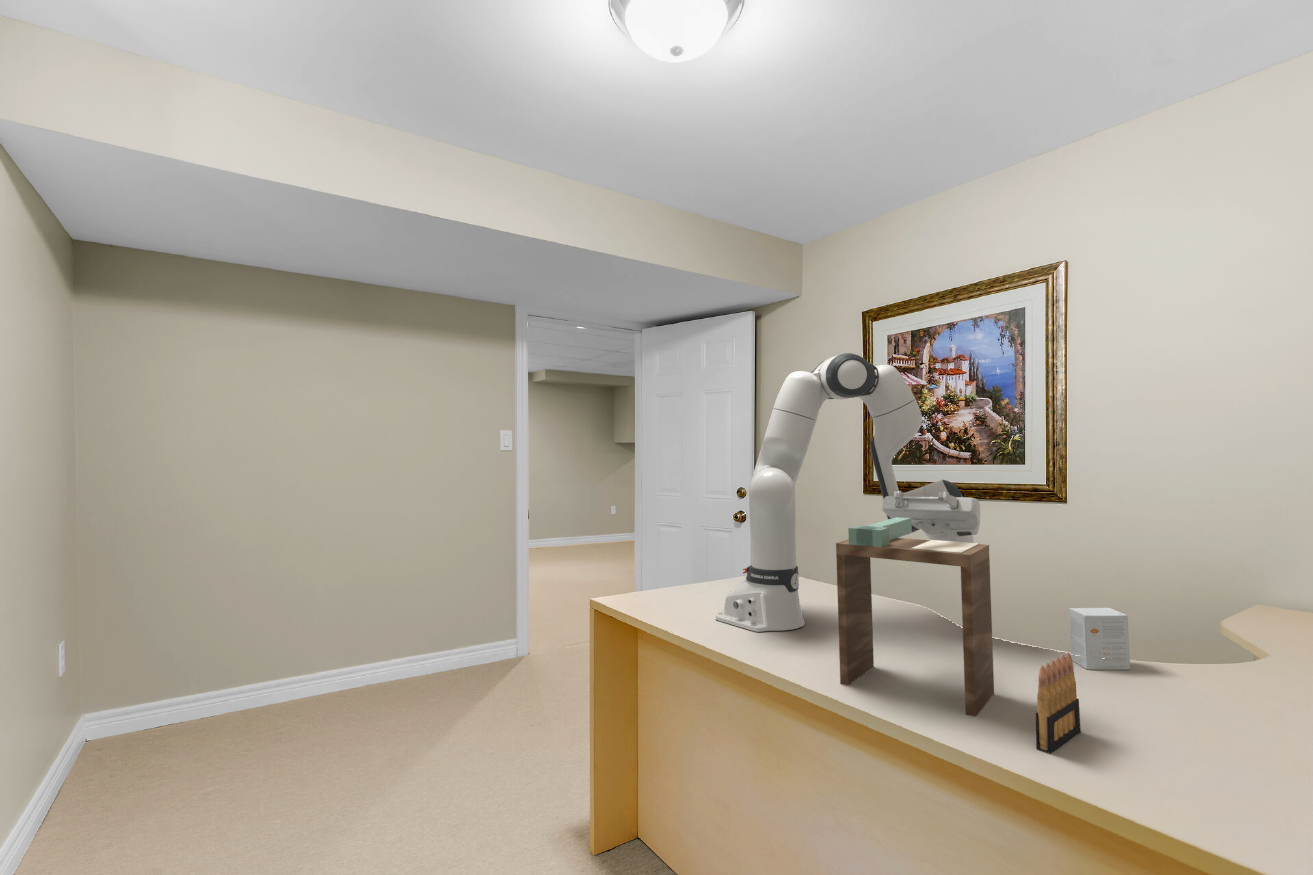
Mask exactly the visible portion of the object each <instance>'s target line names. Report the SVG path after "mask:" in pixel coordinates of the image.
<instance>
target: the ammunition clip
mask: <svg viewBox="0 0 1313 875" xmlns="http://www.w3.org/2000/svg"><path fill="white" fill-rule="evenodd" d="M1074 671H1075V670H1074V661H1072V658H1071V652H1067V653H1066V655H1064V654H1062V655H1061V657H1057V658H1056V660H1055V659H1054V660H1053V659H1052V661H1051V662H1050V663H1049V662H1047V663H1046V664H1045V666H1044V665H1041V666H1040V669H1039V671H1038V672H1039V673H1038V686H1037V688H1038V690H1037V697H1036V698H1037V699H1036V700H1037V701H1036V702H1037V711H1036V713H1035V738H1036V739H1035V742H1036V743H1035V744H1036V746H1035V747H1036V750H1038V751H1042V752H1044V753H1048V754H1053V753H1054V752H1055V751H1057V750H1059V749H1060V748H1062V746H1064V745H1065V744H1067V743H1068V742H1070V741H1071V740H1073V739H1074V738H1075V737H1077V736H1078V735H1079V734H1080V733H1082V732H1081V714H1080V699H1079V698H1077V696H1078V695H1077V681H1076V677H1075V672H1074Z"/></svg>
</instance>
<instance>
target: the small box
mask: <svg viewBox="0 0 1313 875" xmlns="http://www.w3.org/2000/svg"><path fill="white" fill-rule="evenodd" d="M1068 618H1069V619H1068V621H1069V641H1070V642H1069V644H1070V646H1069V648H1070V655H1071V654H1073V655H1071V658H1072V661H1073V663H1076V664H1078V665H1079V666H1080V667H1082V668H1084V669H1086V670H1097V671H1098V670H1099V671H1102V670H1105V671H1107V670H1108V671H1109V670H1111V671H1113V670H1116V671H1117V670H1120V671H1121V670H1123V671H1124V670H1125V671H1126V670H1128V671H1129V670H1130V669H1131V659H1130V658H1131V656H1130V637H1129V634H1130V633H1129V615H1127V614H1126V613H1123V612H1121V611H1118V610H1116V609H1114V608H1112V607H1071V608H1070V607H1069V608H1068ZM1075 655H1080V656H1075ZM1102 658H1105V659H1102Z"/></svg>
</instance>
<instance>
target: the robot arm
mask: <svg viewBox="0 0 1313 875" xmlns="http://www.w3.org/2000/svg"><path fill="white" fill-rule="evenodd" d="M852 398H854V399H855V398H858V399H860V400H861V401H862V402H863V403H864V405H865V406H866V408H867V410H868V412H869V415H870V416H871V418H872V421H873V426H874V435H873V437H872V438H871V439H870V443H869V444H870V445H869V446H870V453H871V459H872V463H873V465H874V470H875V473H876V478H877V481H878V484H879V487H880V492H881V497H882V499H883V501H882V507H881V510H882V512H883V513H884V514H885V516H886V520H888V519H892V518H896V517H901V518H911V522H912V533H911V534H913V533H916V532H918V531H919V530H922V532H923V533H924V534H925V535H926V536H927V538H928V539H930V540H940V541H953V542H967V543H975V540H974V536H976V535H978V534H979V529H980V524H981V504H980V501H979V500H978V499H977V498H974V497H965V496H963V494H962V493H961V491H960V489H959V488H958V486H957V485H956V484H954V483H952V482H951V481H949V480H946V479H941V480H938V481H933V482H931V483H929V484H928V483H927V484H924V485H923V486H921V487H918V488H915V489H911V490H909V491H906V492H903V491H901V490H899V487H898V482H897V479H896V475H895V472H894V468H893V464H892V463H893V459H894V457H895V456H896V454H897V453H898V452H899V451H900V450H901V449H902V448H903V447H905V445H907V444H908V443H909V442H910V441H911V440H912V439H913V438H914V437H915V436H916V434H917V433H918V432H919V431H920V428H921V426H922V423H923V415H922V412H921V409H920V406H919V404H918V402H917V399H916V398H915V396H914V393H913V391H912V389H911V388H910V386H909V385H908V383H907V381H906V380H905V378H904V377H903V376H902V374H901V373H900V372H899V370H898V369H897V368H896V367H895V366H893V365H891V364H879V365H874V364H872V363H871V362H869V361H868V360H866V358H864V357H862V356H860V355H858V354H856V353H852V352H849V353H848V352H846V353H841V354H840V353H839V354H835V355H832V356H830V357H828V358H827V359H824V360H823V361H821V362H820V363H819V364H818V365H816V367H815V368H814V369H813V370H811V371H810V372H809V371H805V370H798V371H796V370H795V371H793V372H791V373H789V374H788V375H787V376H786V378H785V380H784V382H783V383H782V386H781V388H780V390H779V391H778V394H777V395H776V399H775V402H774V405H773V409H772V411H771V414H770V417H769V420H768V424H767V426H766V431H765V434H764V437H763V441H762V443H761V448H760V450H759V454H758V457H757V461H756V464H755V467H754V470H753V473H752V476H751V480H750V481H749V485H748V506H749V527H750V550H751V551H750V553H751V555H750V557H751V560H750V561H751V564H750V565H749V566H747V567H746V568H743V569H742V571H743V572H742V574H746V576H745V580H744V581H742V582H741V583H739V584H738V585H737V586H736V587H735V588H733V589H732V590H730V592H728V593H727V594H726V597H725V602H724V609H722V610H720V611H718V612H717V613H716V614H715V620H716V621H719V622H722V623H726V624H729V625H732V626H736V627H740V628H742V629H746V630H749V631H752V632H756V633H758V632H761V633H762V632H768V631H770V632H772V631H775V632H776V631H790V630H796V629H799V628H802V627H804V626H805V624H806V622H805V620H804V616H803V613H802V612H803V611H802V607H801V601H800V596H799V587H800V586H799V585H800V582H799V580H800V577H799V566H798V565H797V544H796V543H797V542H796V540H797V538H796V487H795V486H796V483H797V481H798V478H799V474H800V471H801V468H802V466H803V462H804V460H805V458H806V454H807V452H808V449H809V447H810V442H811V440H812V436H813V434H814V430H815V428H816V423H817V419H818V416H819V414H820V413H819V412H820V409H821V407H822V405H824V402H825V401H826V400H848V399H852ZM907 535H909V534H907Z"/></svg>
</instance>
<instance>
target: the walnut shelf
mask: <svg viewBox="0 0 1313 875" xmlns="http://www.w3.org/2000/svg"><path fill="white" fill-rule="evenodd" d="M835 549H836V550H835V552H836V553H835V554H836V558H835V559H836V580H837V581H836V585H837V615H838V616H837V617H838V618H837V619H838V620H837V621H838V648H839V650H838V654H839V678H840V679H839V681H840V682H839V683H840V684H841V685H845V686H849V685H851V684H852V683H854V682H855V681H857V679H859V678H861V677H862V676H863V675H865V674H866V673H868V672H869V671H870V670H872V669H873V668H875V666H874V664H875V663H874V658H875V657H874V637H873V636H874V630H873V604H872V602H873V601H872V600H873V599H872V573H871V572H872V571H871V570H872V569H871V558H873V559H883V560H892V561H903V562H911V563H912V562H913V563H923V564H932V565H933V564H934V565H942V566H943V565H944V566H951V567H952V566H953V567H960V585H961V586H960V587H961V588H960V589H961V590H960V591H961V592H960V593H961V613H962V614H961V616H962V618H961V619H962V645H963V646H962V647H963V670H964V671H963V673H964V706H965V707H964V708H965V715H966V716H970V717H975V718H976V717H977V716H978V715H979V713H980V712H981V711H982V710H983V708H984V707H985V706H986V704H987V703H988V702H989V701H990V699H991V698H992V696H994V694H995V683H994V682H995V679H994V654H993V653H994V652H993V646H994V645H993V624H992V623H993V619H992V616H993V615H992V594H991V591H992V590H991V563H990V561H991V560H990V559H991V558H990V544H981V543H977V542H974V543H967V542H953V541H940V540H931V539H930V540H929V539H928V540H927V539H919V538H917V539H916V538H903V537H899V538H896V539H893V540H890V544H889V545H886V546H883V547H873V546H862V545H850V544H849V538H848V539H845V540H842V541H839V542H836V543H835Z"/></svg>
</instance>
